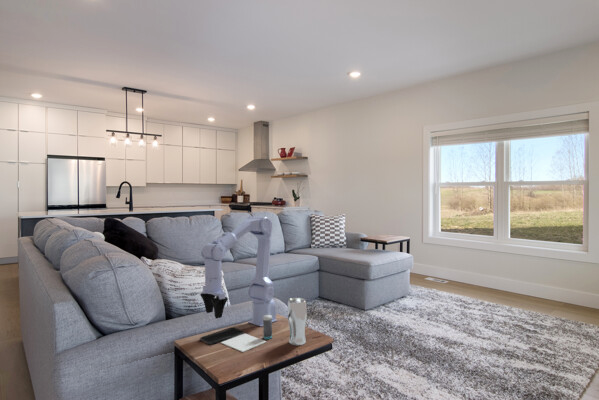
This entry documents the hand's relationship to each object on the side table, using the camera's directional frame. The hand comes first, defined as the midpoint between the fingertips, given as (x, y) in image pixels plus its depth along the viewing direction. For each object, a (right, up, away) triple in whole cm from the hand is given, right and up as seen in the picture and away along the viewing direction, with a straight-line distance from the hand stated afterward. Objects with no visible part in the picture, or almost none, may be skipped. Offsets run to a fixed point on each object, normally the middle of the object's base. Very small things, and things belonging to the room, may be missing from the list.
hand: (213, 315), depth 128 cm
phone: (+2, -10, +5) cm, 12 cm away
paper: (+11, -10, 0) cm, 15 cm away
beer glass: (+30, -10, 0) cm, 32 cm away
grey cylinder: (+19, -10, +4) cm, 22 cm away
